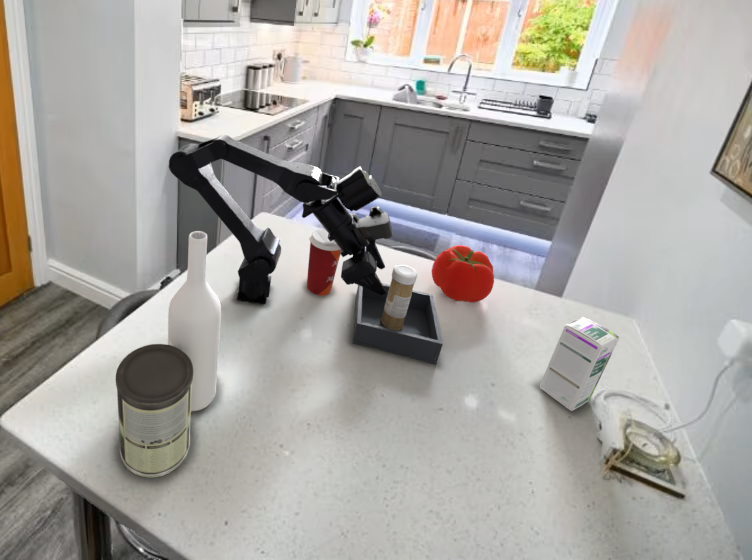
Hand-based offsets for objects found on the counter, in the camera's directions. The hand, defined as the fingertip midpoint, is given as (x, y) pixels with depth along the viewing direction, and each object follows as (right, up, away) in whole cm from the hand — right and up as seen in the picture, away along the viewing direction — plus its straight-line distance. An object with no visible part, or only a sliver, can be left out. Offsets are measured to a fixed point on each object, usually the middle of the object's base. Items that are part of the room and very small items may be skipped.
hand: (383, 280), depth 88 cm
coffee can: (-41, -18, -24) cm, 51 cm away
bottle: (-37, -15, -15) cm, 43 cm away
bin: (+3, -11, +3) cm, 11 cm away
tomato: (+23, -7, +16) cm, 29 cm away
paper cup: (-11, -5, +14) cm, 18 cm away
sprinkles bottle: (+3, -10, +3) cm, 11 cm away
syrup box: (+29, -18, -10) cm, 35 cm away
